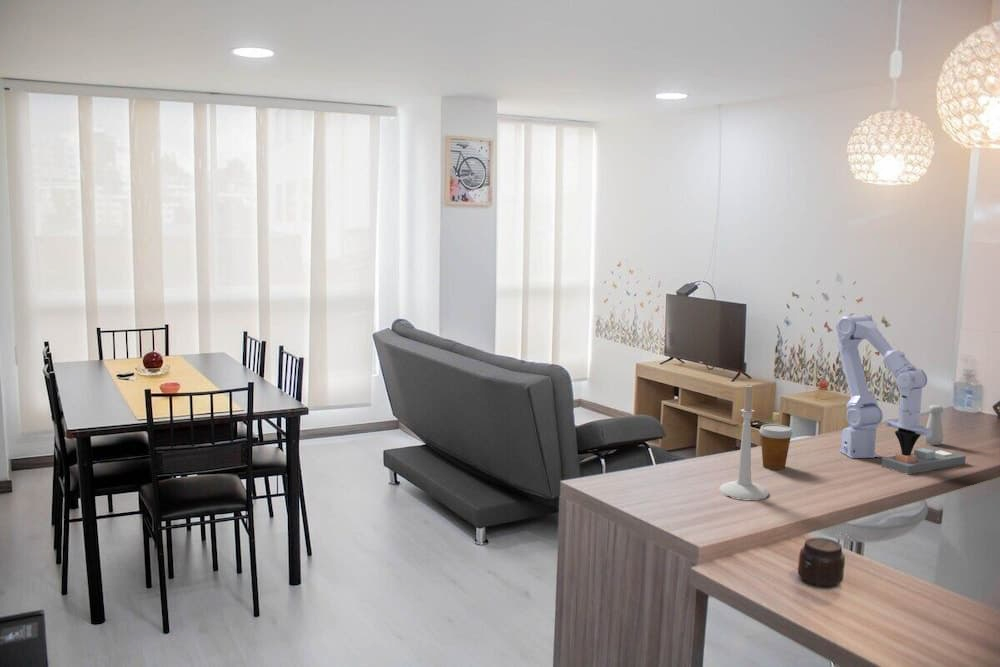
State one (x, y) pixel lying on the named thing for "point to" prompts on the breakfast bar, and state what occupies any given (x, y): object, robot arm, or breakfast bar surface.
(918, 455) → the slate key
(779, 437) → the disposable coffee cup
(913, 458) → the terracotta key
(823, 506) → the breakfast bar surface
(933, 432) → the salt shaker
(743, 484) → the candlestick
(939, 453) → the cream key
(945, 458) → the key panel
